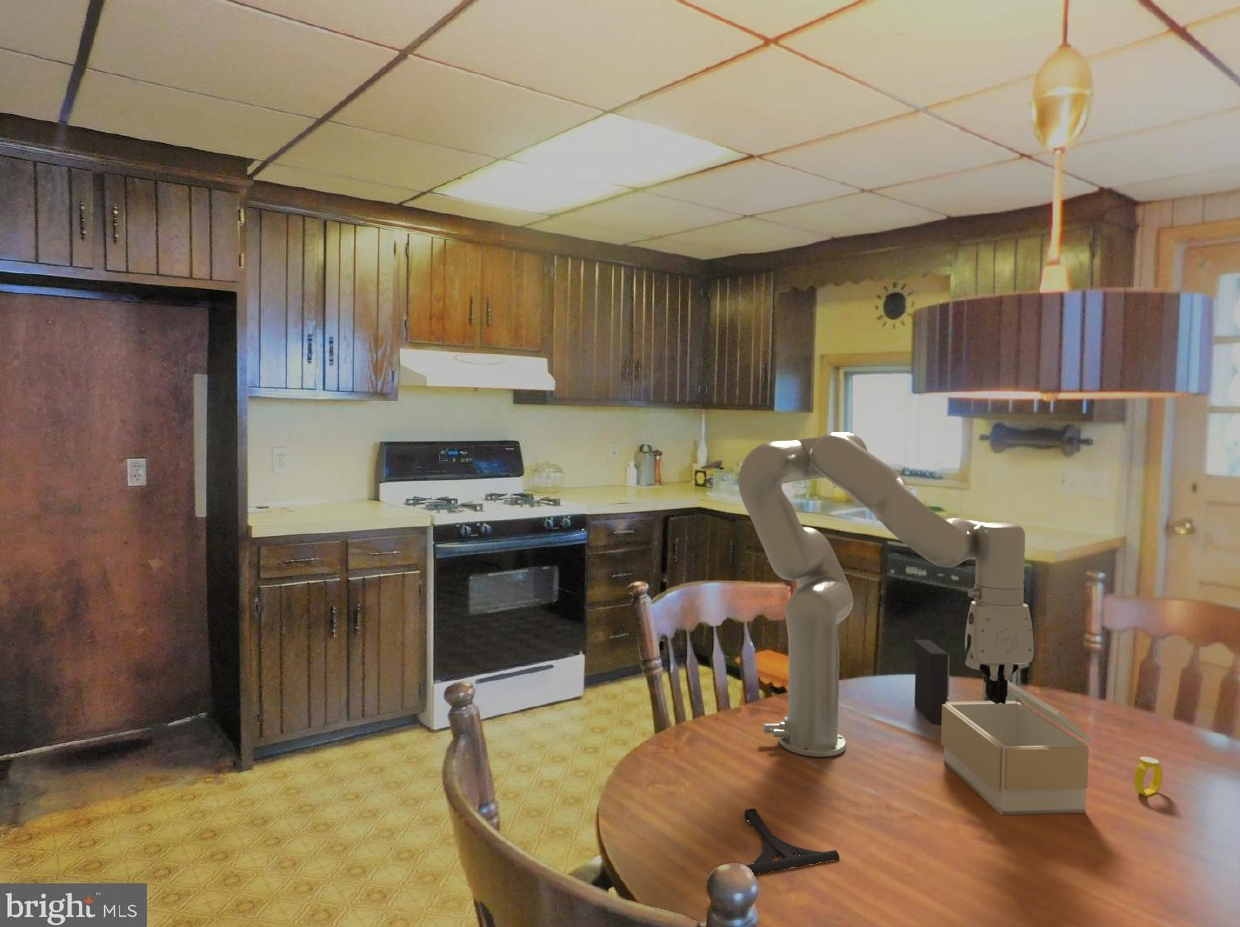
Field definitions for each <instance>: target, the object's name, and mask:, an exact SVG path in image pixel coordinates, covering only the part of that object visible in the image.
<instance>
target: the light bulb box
mask: <svg viewBox="0 0 1240 927" xmlns="http://www.w3.org/2000/svg"><path fill="white" fill-rule="evenodd" d="M996 666H997V665H996ZM1021 671H1022V669H1017V670H1016V672H1015V673H1014V674H1013V675H1012V676H1011V679H1010V680H1009V681H1010V682H1012V683H1013V684H1015V685H1017V686H1018V687H1020V688H1021ZM982 680H983V682H982V684H983V685H982V701H991V700H989V699H988V698H987V695H986V676H985V675H983V679H982ZM1006 701H1016V702H1019V703H1020V701H1021V700H1020V699H1019V698H1018V697H1017V696H1016V695H1014V694H1013V693H1012V692H1011V691H1010V690H1009V689H1008V690H1007V697H1006Z"/></svg>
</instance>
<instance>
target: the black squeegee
mask: <svg viewBox="0 0 1240 927" xmlns="http://www.w3.org/2000/svg"><path fill="white" fill-rule="evenodd" d="M743 818H744V820H745V819H746V820H749V823H750V824H749V823H748V824H749V826H750V827H751V826H752V827H754V829H755V830H756V831H757V832H758V833H757V832H756V831H755V830H754V829H753V830H754V831H755V832H756V833H757V834H758V835H759V834H760V835H761V836H760V835H759V836H760V837H761V842H762V847H763V848H762V852H761V853H760V855H759V856H758V857H757V858H756V859H755V860H754V861H753V862H754V864H751V863H749V864H746V866H747V867H749V868H750V869H751V870H752V872H753V873H754V875H755V876H760V875H763V874H762V873H766V874H769V873H768V872H771V871H772V873H774V872H773V871H777V872H780V871H779V870H783V869H788V868H791V867H799V868H802V867H801V866H805V865H809V864H816V863H819V862H826V861H831V860H838V861H840V860H841V858H840V854H839V852H838V851H837V850H836V849H833V850H828V851H820V850H819V851H818V850H811V849H806V848H802V847H799V846H796V845H792V844H791V843H789V842H785V841H783V840H782V839H780V838H778V837H777V836H775V835H774V834H773V833H772V832H771V830H770V829H769V828H768V827H767V826H766V824H765V822H764V820H763V819H762V817H761V816H760V815H759V812H758V810H757V809H756V808H755V807H754V808H748V809H745V810H744V817H743ZM746 820H745V821H746ZM752 827H751V828H752ZM793 854H797V855H800V856H797V855H793ZM778 855H779V856H780V857H781V858H782V859H781V858H780V857H779V856H778ZM775 856H777V857H779V859H775V858H776V857H775ZM774 857H775V858H774ZM773 858H774V859H773ZM816 865H817V864H816ZM805 867H806V866H805ZM788 870H789V869H788ZM783 871H784V870H783ZM759 873H760V874H759Z"/></svg>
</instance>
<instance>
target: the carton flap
mask: <svg viewBox="0 0 1240 927" xmlns="http://www.w3.org/2000/svg"><path fill="white" fill-rule="evenodd" d="M1008 689H1009V690H1010V691H1011V692H1012V693H1013V694H1014V695H1016V696H1017V697H1018V698H1019V699H1020V701H1021V702H1022V703H1024V704H1026V705H1027V706H1029V707H1030V708H1031V709H1034V710H1035V711H1037V712H1039V713H1041V714H1042V715H1043V716H1045V717H1046V718H1048V719H1050V720H1052V721H1053V722H1055V723H1056V724H1057V725H1059V726H1061V727H1063V728H1064V729H1066V730H1067V731H1068V732H1071V733H1072V734H1073V735H1076V737H1078V738H1080V739H1081V740H1083V741H1085V742H1086V743H1088V744H1090V743H1091V742H1092V741H1093V739H1092V738H1091V737H1090V736H1089V735H1088V734H1087V733H1085V732H1084V731H1083V730H1082V729H1081V728H1080V727H1079V726H1078V725H1077V724H1075V723H1074V722H1073V721H1072V720H1070V719H1069V718H1068V717H1067V716H1066V715H1064V714H1063V713H1062V712H1061V710H1059V709H1056V708H1055V707H1053V706H1051V705H1050V704H1048V703H1047V702H1045V701H1043V700H1041V699H1040V698H1038V697H1036V696H1035V695H1033V694H1032V693H1031V692H1028V691H1027V690H1025V689H1023V688H1022V687H1021V686H1020V687H1018V686H1017V685H1015V684H1013V683H1012V682H1010V681H1008Z"/></svg>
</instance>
